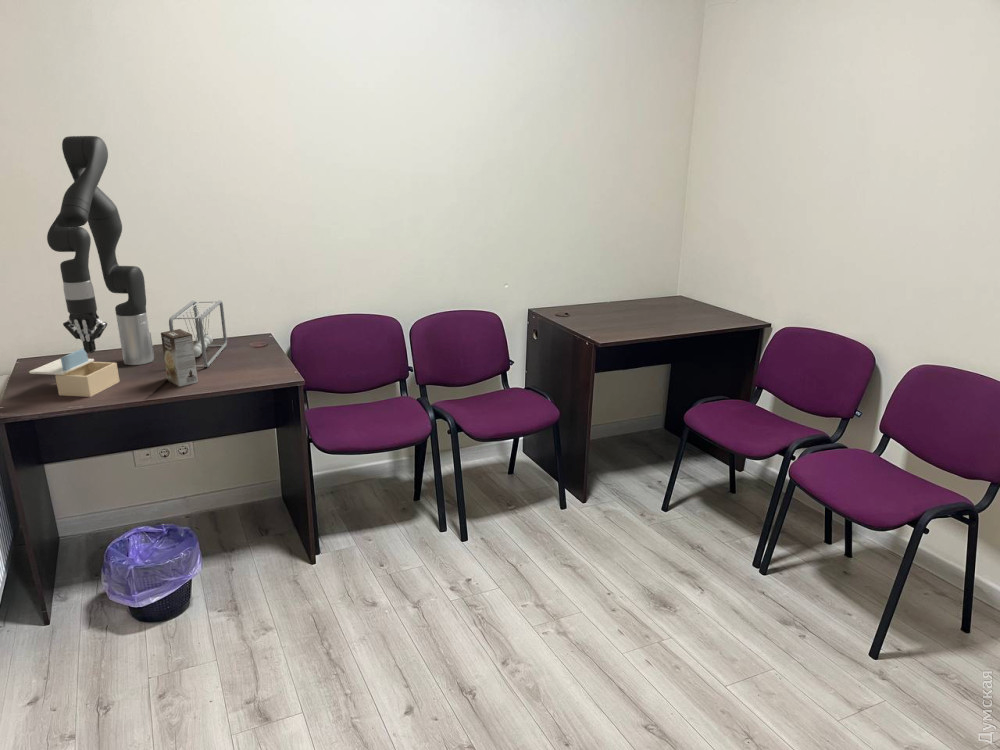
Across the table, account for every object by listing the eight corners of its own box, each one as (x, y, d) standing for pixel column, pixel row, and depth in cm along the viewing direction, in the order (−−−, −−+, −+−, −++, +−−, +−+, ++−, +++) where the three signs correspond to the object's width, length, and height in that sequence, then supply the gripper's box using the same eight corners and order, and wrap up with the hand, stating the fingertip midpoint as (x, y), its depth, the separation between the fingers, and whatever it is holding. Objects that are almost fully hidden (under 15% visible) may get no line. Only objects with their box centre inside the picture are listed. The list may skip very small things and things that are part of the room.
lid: (63, 359, 221) (60, 345, 219) (94, 360, 220) (91, 346, 218) (29, 373, 207) (26, 358, 206) (62, 374, 206) (59, 359, 205)
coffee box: (166, 380, 225) (159, 332, 220) (186, 376, 230) (179, 328, 225) (179, 387, 219) (172, 337, 214) (199, 382, 224) (193, 333, 219)
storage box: (90, 382, 222) (86, 361, 220) (120, 384, 221) (116, 362, 219) (59, 397, 209) (55, 375, 207) (91, 399, 208) (87, 376, 206)
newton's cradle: (198, 345, 264) (192, 299, 258) (227, 345, 265) (222, 299, 260) (174, 370, 236) (167, 318, 230) (207, 369, 237) (201, 318, 231)
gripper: (109, 293, 209) (118, 349, 214) (67, 292, 210) (78, 347, 215) (92, 299, 201) (103, 357, 207) (49, 298, 203) (61, 355, 208)
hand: (90, 352), depth 211 cm, fingers closed
